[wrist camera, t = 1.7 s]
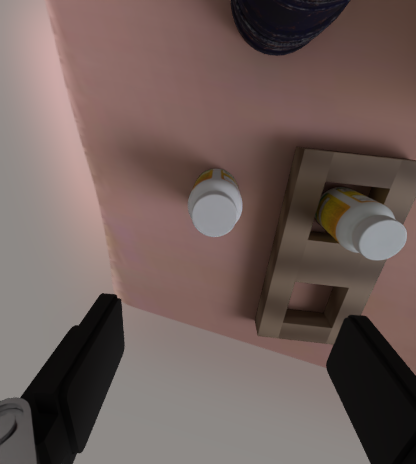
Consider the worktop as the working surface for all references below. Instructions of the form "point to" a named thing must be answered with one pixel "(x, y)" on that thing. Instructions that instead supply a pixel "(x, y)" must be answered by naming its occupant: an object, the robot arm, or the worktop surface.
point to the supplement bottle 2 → (360, 223)
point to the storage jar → (283, 22)
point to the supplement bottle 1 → (215, 203)
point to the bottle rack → (326, 243)
